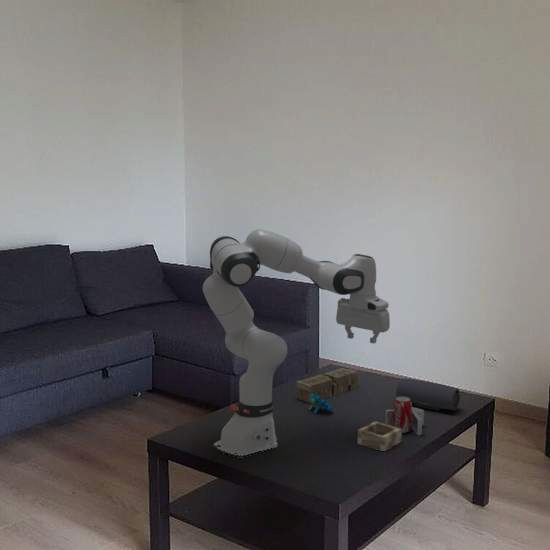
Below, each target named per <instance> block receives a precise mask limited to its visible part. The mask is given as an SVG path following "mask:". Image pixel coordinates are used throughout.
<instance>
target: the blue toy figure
mask: <svg viewBox="0 0 550 550" xmlns="http://www.w3.org/2000/svg"><path fill="white" fill-rule="evenodd" d="M311 398H312V400H311V401H312V403H310V404H311V405H310V407H309V408H308V410H310V411H311V410H312V408H313V407H314V406H315V407H316V408H315V410H314V411H313V414H314V415H316V414H317V413H318V411H319V409H320V408H323V409H325V410H327V411H330V412H333V411H334V407H333V406H332V405H331V404H330V403H329V402H326V399H321V398H320V397H319V396H316V395H315V394H311Z"/></svg>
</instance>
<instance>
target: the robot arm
mask: <svg viewBox="0 0 550 550" xmlns="http://www.w3.org/2000/svg"><path fill="white" fill-rule="evenodd" d="M210 245H211V246H210V250H209V268H210V269H211V271H212V274H211V275H210V276H208V277H206V279H205V280H204V282H203V285H202V292H203V295H204V297H205V299H206V302H207V304H208V305H209V308H210V310H211V311H212V312H213V314H214V316H215V317H216V318H217V320H218V321H219V323H220V324H221V326H222V328H223V329H224V332H225V334H226V335H225V338H224V339H225V340H224V342H225V346H226V348H227V350H228V351H229V352H230V353H232V354H234V355H235V356H237V357H239V358H241V359H244V360H247V361H248V365H247V370H246V372H244V373H242V375H241V376H240V377H239V381H238V382H239V383H238V384H239V386H238V388H239V389H238V390H239V392H238V393H239V400H238V402H237V404H236V405H235V404H234V403H231V405H230V408H229V409H230V410H231V411H234V412H235V413H234V414H233V415H232V417H230V419H229V420H228V422H227V423H226V424H225V425H224V427H223V428H222V430H221V435H220V440H217V441H216V442H214V443H213V446H214V445H215V446H217V445H220V446H221V447H217V448H218V449H220V450H222V451H225V452H228V453H231V454H235V453H237V454H235V455H239V456H240V455H241V456H243V455H248V454H251V453H255V452H258V451H262V452H264V451H263V450H266V451H268V450H267V449H269V450H271V448H272V449H275V448H277V447H278V446H279V445H278V442H277V441H278V438H277V436H276V429H275V421H274V415H273V412H274V399H273V380H274V375H275V372H276V370H277V368H278V366H280V365H281V364H282V363H283V362H284V361H285V359H286V358H287V356H288V355H287V354H288V345H287V342H286V341H285V340H284V339H283V338H281V337H280V335H278V334H276V333H273V332H269V331H266V330H263V329H260V328H259V327H257V326H256V325H255V324H254V321H253V320H254V315H255V313H254V310H253V309H252V307H251V305H250V303H249V302H248V301H247V299H246V297H245V296H244V294H243V292H242V291H241V290H240V288H241V287H245V286H247V285H248V284H249V283H250V282H251V281H252V280H253V279H254V277H255V276H256V273H258V271H260V268H261V266H264V267H266V268H269V269H271V270H274V271H275V272H279V273H283V274H293V273H294V272H295V273H297V274H299V275H302V276H303V277H306V278H309V280H311V282H312V283H313V284H314V285H315V286H316V287H317V288H319V289H320V290H324V291H328V292H332V293H334V294H337V295H341V296H345V295H346V296H347V295H349V298H345V297H341V298H340V299H338V301H337V310H336V315H335V321H336V323H337V324H338V325H341V326H344V329H345V332H346V333H347V337H346V338H348V339H354V336H355V332H352V329H351V328H357V329H363V330H367V331H371V332H372V334H373V335H372V337H370V338H369V343H370V344H377V340H378V339H377V338H378V337H379V335H380V333H386V332H388V330H390V324H391V319H390V313H389V311H388V308H389V304H390V303H389V302H388V301H386V300H384V299H383V298H380V297H379V296H378V295H376V294H377V292H376V283H377V263H376V260H375V258H373V256H370V255H365V254H360V253H354V254H352V256H351V257H350V258H349V259H348V260H347V261H345V262H343V263H341V264H339V263H335V262H332V261H330V260H320V261H317V260H315V259H312V258H311V257H308V256H307V255H304V254H303V249H302V247H301V246H300V245H299V244H298V243H296V242H295V241H293V240H291V239H290V238H289V237H285V236H284V235H282V234H279V233H275V232H273V231H269V230H264V229H260V228H259V229H254V230H253V231H251V232H249V234H248V235H247V237H246V239H245V240H244V241H243V242H241V243H240V242H239V241H238V240H237V239H236V238H234V237H233V236H228V235H226V236H225V235H223V236H219V237H218V238H216V239H215V240H214V241H213V242H212V244H210Z"/></svg>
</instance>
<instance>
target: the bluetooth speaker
mask: <svg viewBox="0 0 550 550" xmlns="http://www.w3.org/2000/svg"><path fill="white" fill-rule="evenodd" d="M395 395H396V398H397V397H400V396H403V397H408V398H410V401H411V402H412V404H413V406H414V405H415V407H418V406H419V407H418V408H422V407H424V408H423V409H427V408H430V409H429V410H432V409H440V410H446V411H447V410H449V411H455V410H457V409H458V407H459V404H460V401H461V400H460V399H461V394H460V388H456V387H453V386H450V385H447V384H440V383H436V382H431V381H427V380H426V381H425V380H420V379H412V378H407V377H406V378H405V377H404V378H400V379H399V380H398V381H397V385H396V390H395Z"/></svg>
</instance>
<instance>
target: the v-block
mask: <svg viewBox="0 0 550 550" xmlns="http://www.w3.org/2000/svg"><path fill="white" fill-rule="evenodd" d="M424 416H425V410H424V409H421V408H419V407H414V406H412V416H411V429H412V428H413V429H414V431H415V432H416V434H417V435H422V434H423V433H422V432H423V426H424V419H425V418H424ZM393 417H394V409H385V423H384V424H387V425H390V426H393ZM422 425H423V426H422ZM413 429H412V430H413ZM414 431H413V432H414ZM415 432H414V433H415ZM416 434H415V435H416ZM417 435H416V436H417Z"/></svg>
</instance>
